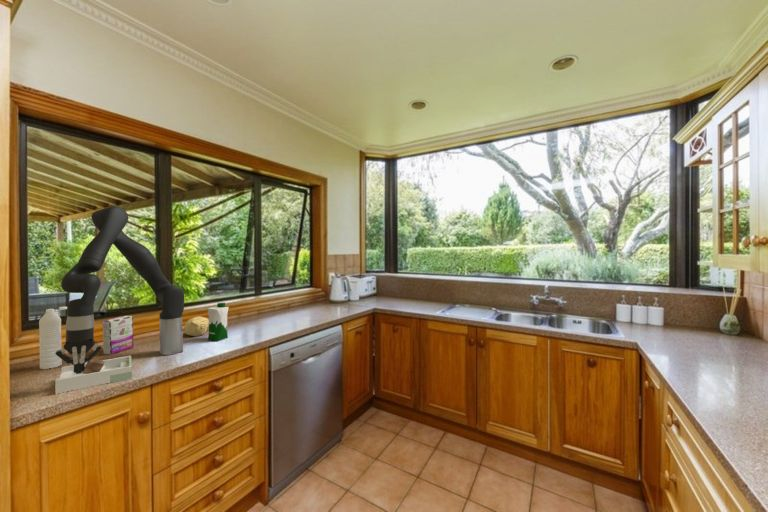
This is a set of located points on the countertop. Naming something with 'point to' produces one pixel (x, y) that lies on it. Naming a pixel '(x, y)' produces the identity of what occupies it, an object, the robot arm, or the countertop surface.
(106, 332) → the candy bar box
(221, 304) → the milk carton
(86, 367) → the walnut block
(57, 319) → the water bottle
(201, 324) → the sculpture
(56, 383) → the track
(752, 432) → the countertop surface
